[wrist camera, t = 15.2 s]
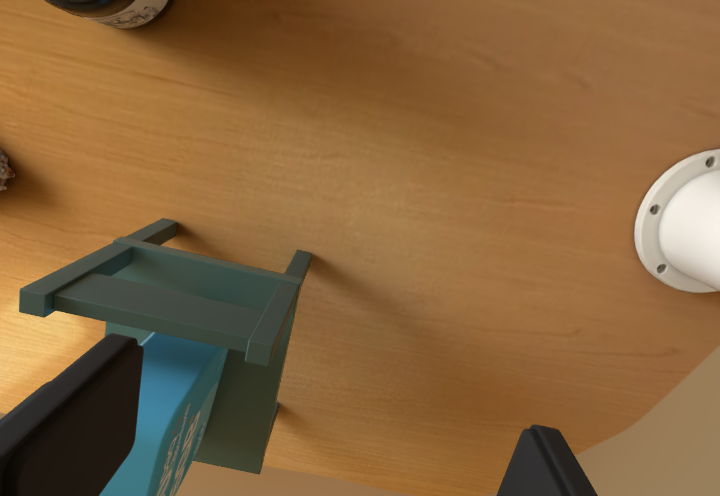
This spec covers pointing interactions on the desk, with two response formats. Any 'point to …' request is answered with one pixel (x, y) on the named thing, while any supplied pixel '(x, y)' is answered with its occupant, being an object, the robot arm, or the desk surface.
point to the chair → (191, 323)
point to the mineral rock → (4, 171)
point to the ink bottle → (116, 11)
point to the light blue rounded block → (169, 415)
